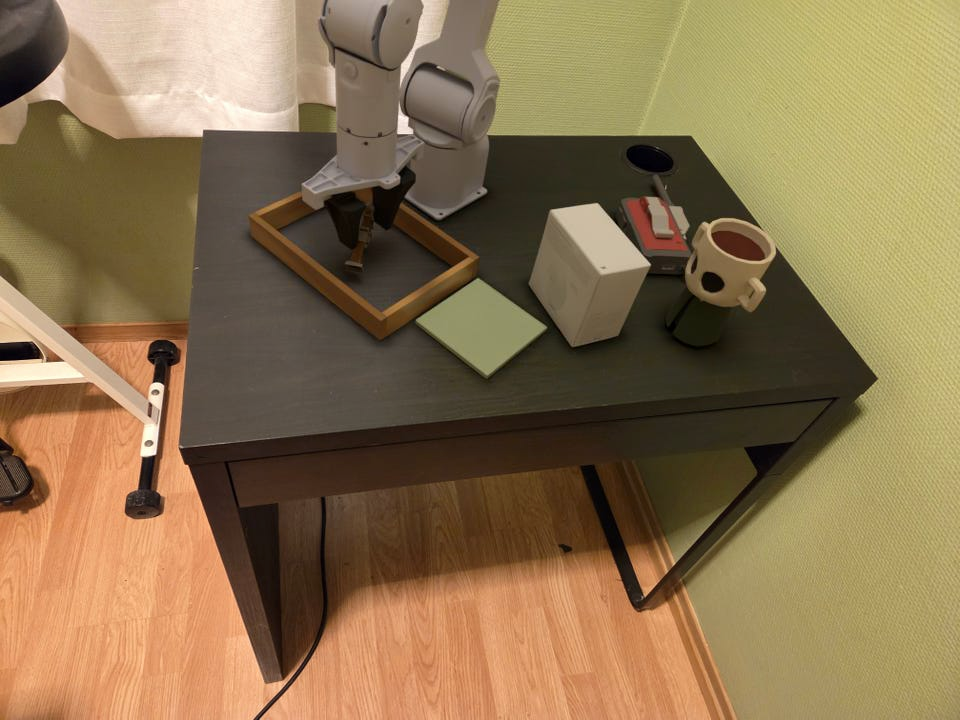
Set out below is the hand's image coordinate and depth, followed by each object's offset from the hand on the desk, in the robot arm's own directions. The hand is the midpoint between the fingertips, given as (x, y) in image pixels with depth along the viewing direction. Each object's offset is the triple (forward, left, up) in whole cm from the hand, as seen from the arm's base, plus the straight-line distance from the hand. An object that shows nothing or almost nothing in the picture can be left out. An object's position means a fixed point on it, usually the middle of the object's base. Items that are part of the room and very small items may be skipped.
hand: (365, 234), depth 73 cm
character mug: (-20, +32, -3) cm, 38 cm away
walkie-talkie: (-32, +19, -3) cm, 37 cm away
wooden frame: (0, 0, -3) cm, 3 cm away
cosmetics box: (-12, +21, -3) cm, 24 cm away
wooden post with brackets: (+1, 0, -2) cm, 2 cm away
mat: (-2, +16, -3) cm, 16 cm away
